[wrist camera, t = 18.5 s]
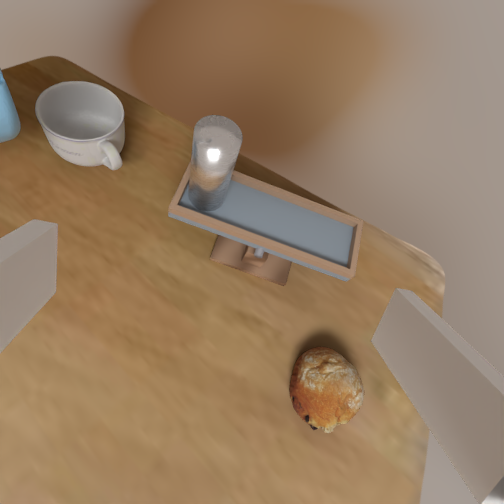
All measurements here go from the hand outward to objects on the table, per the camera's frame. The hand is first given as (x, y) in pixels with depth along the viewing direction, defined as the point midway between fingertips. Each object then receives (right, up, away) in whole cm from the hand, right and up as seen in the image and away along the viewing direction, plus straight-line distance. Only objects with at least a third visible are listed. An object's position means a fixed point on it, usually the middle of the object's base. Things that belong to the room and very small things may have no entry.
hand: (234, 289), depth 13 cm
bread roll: (+10, -18, +33) cm, 39 cm away
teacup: (-24, +17, +38) cm, 48 cm away
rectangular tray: (+3, +6, +34) cm, 34 cm away
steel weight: (-6, +9, +32) cm, 33 cm away
